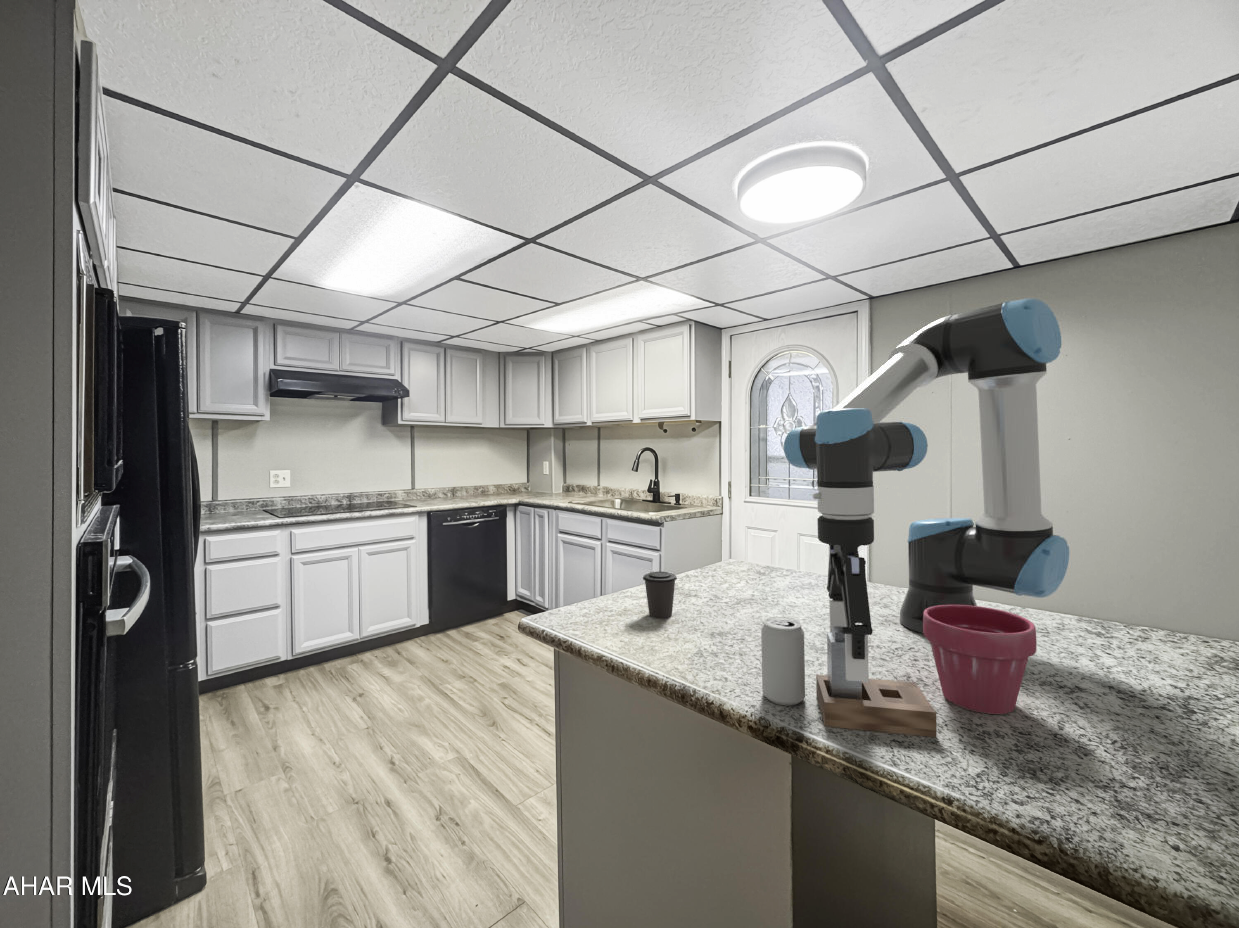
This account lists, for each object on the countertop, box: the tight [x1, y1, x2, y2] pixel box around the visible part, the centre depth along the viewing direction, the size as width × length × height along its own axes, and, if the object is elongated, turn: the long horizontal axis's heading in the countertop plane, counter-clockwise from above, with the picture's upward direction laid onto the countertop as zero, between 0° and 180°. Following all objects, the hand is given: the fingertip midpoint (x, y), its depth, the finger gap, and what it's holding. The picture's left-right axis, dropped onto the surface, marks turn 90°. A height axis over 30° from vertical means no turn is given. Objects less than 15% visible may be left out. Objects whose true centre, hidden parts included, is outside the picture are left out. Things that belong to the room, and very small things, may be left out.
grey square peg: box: [826, 626, 862, 700], centre depth 76 cm, size 4×4×11 cm
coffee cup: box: [642, 571, 678, 620], centre depth 122 cm, size 8×8×10 cm
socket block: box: [815, 674, 937, 738], centre depth 75 cm, size 14×9×3 cm, turn 76°
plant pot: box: [922, 605, 1038, 715], centre depth 79 cm, size 14×14×13 cm
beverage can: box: [760, 616, 806, 707], centre depth 80 cm, size 6×6×12 cm
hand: (847, 659), depth 76 cm, fingers open, 13 cm apart
